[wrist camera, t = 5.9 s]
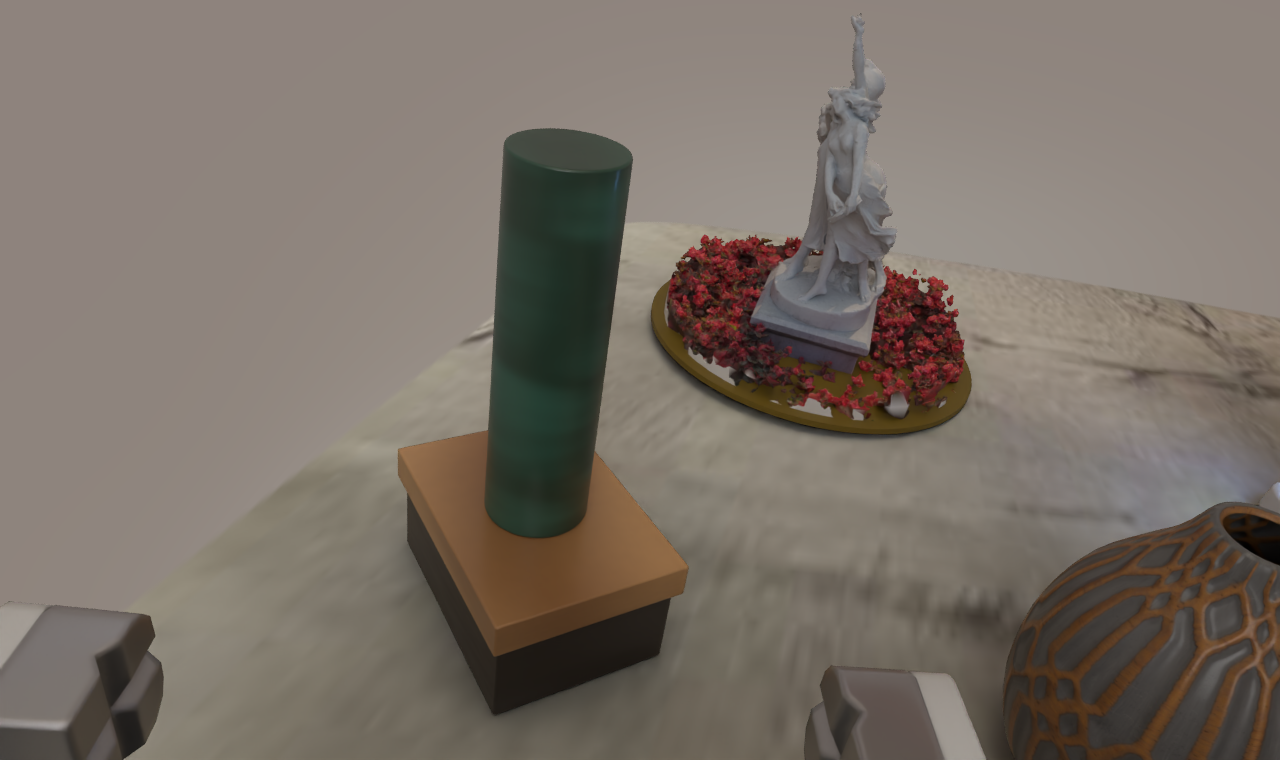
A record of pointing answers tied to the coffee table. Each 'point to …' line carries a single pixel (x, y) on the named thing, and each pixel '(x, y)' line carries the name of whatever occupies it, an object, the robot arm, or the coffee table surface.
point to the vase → (1156, 648)
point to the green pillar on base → (544, 450)
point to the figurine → (822, 301)
